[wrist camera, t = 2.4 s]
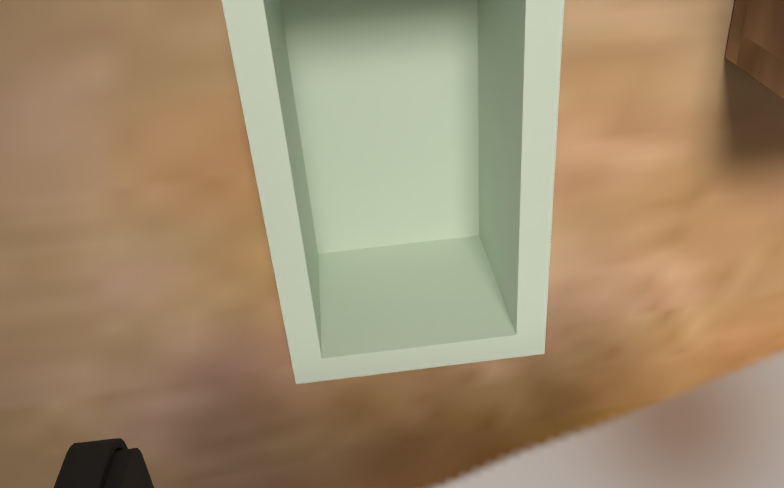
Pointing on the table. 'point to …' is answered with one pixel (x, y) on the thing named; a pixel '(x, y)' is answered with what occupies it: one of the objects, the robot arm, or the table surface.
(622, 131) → the table surface
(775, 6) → the walnut crate
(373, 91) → the sage crate
